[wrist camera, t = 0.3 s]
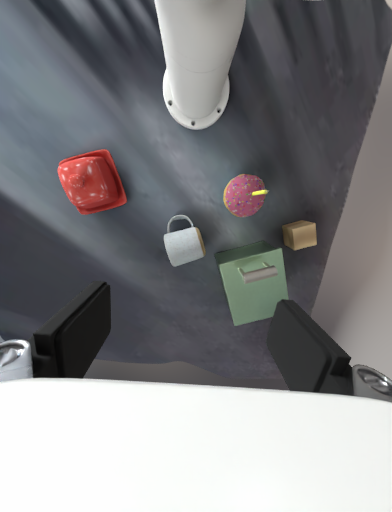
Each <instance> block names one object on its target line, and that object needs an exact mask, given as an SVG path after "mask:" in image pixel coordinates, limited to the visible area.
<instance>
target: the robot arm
mask: <svg viewBox="0 0 392 512" xmlns="http://www.w3.org/2000/svg"><path fill="white" fill-rule="evenodd" d="M154 1H155V6H156V10H157V15H158V21H159V26H160V32H161V37H162V43H163V48H164V54H165V59H166V65H167V68H166V71H165V75H164V81H163V93H164V99H165V102H166V106H167V108H168V110H169V112H170V114H171V115H172V117H173V118H174V119H175V120H176V121H177V122H178V123H179V124H181V125H182V126H184V127H186V128H188V129H193V130H200V129H204V128H207V127H209V126H211V125H212V124H214V123H215V122H216V121H217V120H218V119H219V118H220V117H221V115H222V113H223V111H224V109H225V107H226V104H227V101H228V97H229V79H228V72H229V68H230V65H231V62H232V59H233V56H234V53H235V49H236V46H237V43H238V40H239V36H240V33H241V30H242V26H243V21H244V16H245V6H246V0H154ZM308 1H321V0H308ZM170 104H172V105H171V106H170ZM217 111H219V112H220V113H218V112H217ZM192 124H194V126H192ZM110 329H111V305H110V285H107V283H106V282H102V281H93V282H92V283H91V284H90V285H89V286H87V287H86V288H85V289H84V290H83V291H82V292H81V293H79V294H78V295H77V296H76V297H75V298H74V299H72V300H71V301H70V302H69V303H68V304H67V305H66V306H64V307H63V308H62V309H61V310H60V311H59V312H57V313H56V314H55V315H54V316H53V317H52V318H51V319H49V320H48V321H47V322H46V323H45V324H44V325H43V326H41V327H40V328H39V329H38V330H37V331H36V332H34V333H33V336H32V337H31V338H29V339H28V340H27V341H25V340H20V339H16V340H8V341H4V342H1V343H0V512H392V380H390V379H389V378H388V377H386V376H385V375H383V374H382V373H380V372H378V371H377V370H375V369H373V368H370V367H368V366H364V365H355V366H353V367H351V366H350V365H349V362H350V360H351V357H350V356H349V355H348V354H347V353H346V352H345V351H344V350H343V349H342V348H341V347H340V346H339V345H338V344H337V343H336V342H335V341H334V340H333V339H332V338H331V337H330V336H329V335H328V334H327V333H326V332H325V331H324V330H323V329H322V328H321V327H320V326H319V325H318V324H317V323H316V322H315V321H314V320H312V318H311V317H310V316H309V315H308V314H307V313H306V312H305V311H304V310H303V309H302V308H301V307H300V306H299V305H297V304H296V303H295V302H294V301H293V300H287V299H281V300H280V301H279V302H277V305H276V308H275V312H274V315H273V319H272V322H271V325H270V329H269V332H268V336H267V339H266V344H267V347H268V349H269V351H270V353H271V355H272V357H273V359H274V361H275V363H276V365H277V366H278V368H279V370H280V372H281V374H282V376H283V378H284V380H285V382H286V384H287V386H288V388H289V390H290V391H284V390H269V389H254V388H239V387H223V386H207V385H190V384H174V383H156V382H137V381H120V380H99V379H83V377H84V375H85V373H86V372H87V370H88V368H89V367H90V365H91V363H92V361H93V360H94V358H95V357H96V355H97V353H98V352H99V350H100V348H101V347H102V345H103V343H104V342H105V340H106V338H107V336H108V335H109V333H110Z"/></svg>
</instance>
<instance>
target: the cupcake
mask: <svg viewBox="0 0 392 512" xmlns="http://www.w3.org/2000/svg"><path fill="white" fill-rule="evenodd" d="M265 188H266V187H265V185H264V183H263V180H262V179H261V178H259V177H258V176H254V175H249V174H241V175H239V176H237V177H235V178H233V179H232V180H231V181H230V182H229V183H228V185H227V186H226V188H225V190H224V197H223V200H224V204H225V206H226V207H227V209H228V210H229V211H230V212H231V213H232V214H233V215H235V216H237V217H247V216H251V215H253V214H255V213H256V212H257V211H258V210H259V209H260V208H261V207H262V206H263V203H264V201H265V195H266V193H267V192H269V190H268V191H267V190H265Z"/></svg>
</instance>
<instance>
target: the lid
mask: <svg viewBox="0 0 392 512" xmlns="http://www.w3.org/2000/svg"><path fill="white" fill-rule="evenodd" d="M219 267H220V270H221V274H222V278H223V282H224V286H225V290H226V294H227V298H228V302H229V306H230V310H231V313H232V317H233V321H234V325H235V326H237V325H241V324H245V323H249V322H253V321H257V320H261V319H265V318H269V317H273V315H274V312H275V308H276V305H277V302H279V301H280V300H281V299H287V300H288V293H287V285H286V277H285V270H284V262H283V254H282V248H280V247H279V248H275V249H272V250H268V251H264V252H260V253H257V254H253V255H249V256H246V257H242V258H238V259H234V260H231V261H227V262H223V263H220V264H219Z"/></svg>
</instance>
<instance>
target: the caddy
mask: <svg viewBox="0 0 392 512" xmlns="http://www.w3.org/2000/svg"><path fill="white" fill-rule="evenodd" d="M272 249H275V248H274V247H273V246H271V245H270V244H268V243H267V242H265V241H261V242H257V243H254V244H250V245H246V246H243V247H239V248H235V249H232V250H228V251H224V252H221V253H217V254H214V255H215V259H216V263H217V266H218V270H219V274H220V278H221V282H222V286H223V289H224V293H225V297H226V301H227V304H228V307H229V310H230V306H229V302H228V298H227V294H226V290H225V286H224V282H223V278H222V274H221V270H220V267H219V264H220V263H223V262H227V261H231V260H234V259H238V258H242V257H246V256H249V255H253V254H257V253H260V252H264V251H268V250H272ZM230 313H231V310H230ZM231 316H232V313H231ZM232 319H233V317H232ZM233 322H234V321H233Z"/></svg>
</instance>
